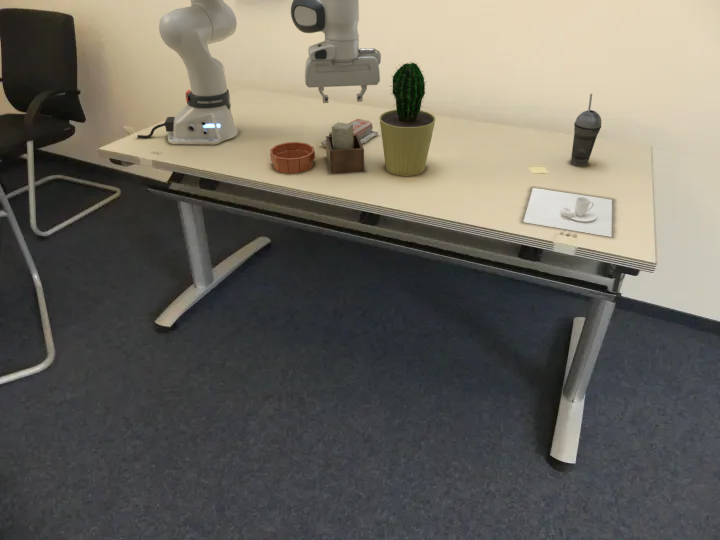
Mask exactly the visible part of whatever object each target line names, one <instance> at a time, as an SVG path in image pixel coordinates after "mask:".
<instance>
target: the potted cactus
mask: <svg viewBox="0 0 720 540" xmlns="http://www.w3.org/2000/svg"><path fill="white" fill-rule="evenodd" d="M418 64H419V62H414V61H412V62H411V61H409V62H406V63H401V65H400V66H399V67H398V68H397V66H395V69H396V71H395V70H394V73H393V75H392V79H391V80H392V85H390V87H391V88H392V89H390V90H389V92H390V91H392V92H391V95H393V99H394V102H395V104H393V106H394V107H396V108H395V109H391V110H387V111H385V112H383V113H381V114H380V115H379V116H378V117H379V125H380V132H381V133H380V135H381V140H382V148H383V149H382V150H383V156H384V157H383V158H384V165H385V166H384V167H385V169H386V171H387V172H389V173H390V174H392V175H396V176H401V177H410V176H411V177H413V176H416V175H417V176H418V175H420V174H422V173H423V172H424V171H425V168H426V165H427V159H428V156H429V151H430V146H431V142H432V137H433V133H434V129H435V124H436V123H435V122H436V116H435V115H434V114H432V113H430V112H429V111H425V110H422V109H423V108H424V107H423V105H422V102H423V100H425V99H426V97H425V94H426V84H427V82H428V80H427V81H425V76H424V73H423V72H424V71H422V69H421V67H420V66H419V65H418Z"/></svg>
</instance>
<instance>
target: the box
mask: <svg viewBox="0 0 720 540" xmlns="http://www.w3.org/2000/svg"><path fill="white" fill-rule="evenodd" d="M331 132H332V143H333V150H342V149H354V136H353V124H348V122H346V123H345V122H336V123H335V124H334V125H332V126H331Z"/></svg>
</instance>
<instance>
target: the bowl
mask: <svg viewBox="0 0 720 540" xmlns="http://www.w3.org/2000/svg"><path fill="white" fill-rule="evenodd" d="M269 156H270V162H271V163H272V166H273V169H274V170H275V171H277V172H278V173H283V174H300V173H304V172H307V171H309V170H310V169H312V168H313V167H314V160H315V159H316V152H315V147H314V146H313V145H312V144H309V143H306V142H301V141H291V142H290V141H288V142H282V143H279V144H276V145H273V147H271V148H270V149H269Z"/></svg>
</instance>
